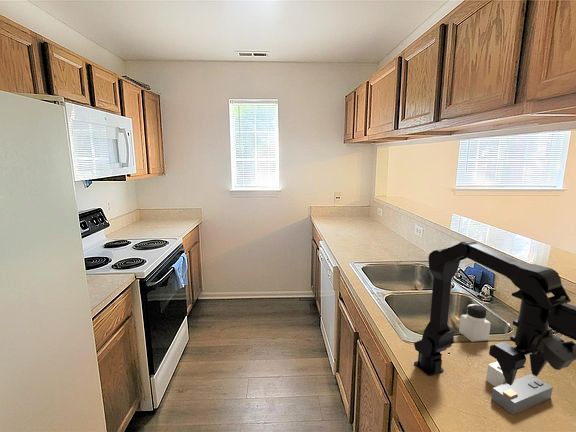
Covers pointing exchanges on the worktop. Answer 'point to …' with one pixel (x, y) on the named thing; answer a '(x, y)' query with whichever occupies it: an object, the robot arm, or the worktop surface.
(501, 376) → the charger
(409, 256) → the worktop surface
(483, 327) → the medicine bottle
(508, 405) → the power strip
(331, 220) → the worktop surface
